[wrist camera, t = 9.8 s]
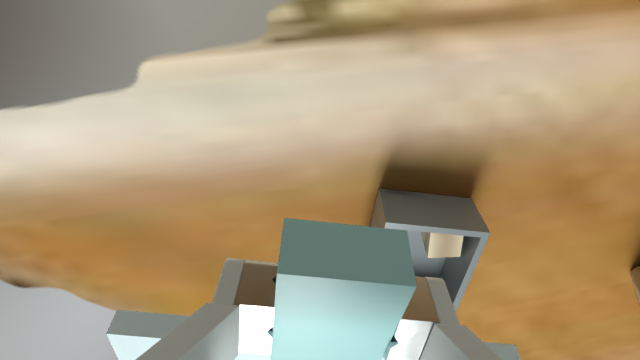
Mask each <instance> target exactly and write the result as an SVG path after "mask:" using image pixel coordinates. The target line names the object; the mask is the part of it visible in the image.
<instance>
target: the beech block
mask: <svg viewBox="0 0 640 360" xmlns="http://www.w3.org/2000/svg"><path fill="white" fill-rule="evenodd" d="M463 237H464V236H460V235H450V234H440V233H430V232H422V234H421V238H422V241H423V245H424V248H425V251H426V254H427V257H428V258H441V257H460V255H461V249H462V243H463Z"/></svg>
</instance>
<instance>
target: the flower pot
mask: <svg viewBox="0 0 640 360" xmlns="http://www.w3.org/2000/svg"><path fill="white" fill-rule="evenodd" d="M631 277H632V280H633V284H634V287H635V291H636V294H637V297H638V301H639V304H640V266H638V267H636V268H634V269H633V270H632V271H631Z"/></svg>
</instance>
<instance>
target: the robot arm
mask: <svg viewBox="0 0 640 360" xmlns="http://www.w3.org/2000/svg"><path fill="white" fill-rule="evenodd" d="M277 269H278V263H271V262H263V261H254V260H242V259H234V258H227V259H226V260H225V262H224V265H223V269H222V272H221V275H220V278H219V282H218V285H217V288H216V291H215V295H214V298H213V301H212V303H205V304H204V305H203V306H202V307H200V308H199V309H198V310H197V311H195V312H194V313H193V314H192V315H190V316H189V317H188V318H187V319H185V320H184V321H183V322H182V323H180V324H179V325H178V326H177V327H175V328H174V329H173V330H172V331H170V332H169V333H168V334H167V335H166V336H164V337H163V338H162V339H161V340H159V341H158V342H157V343H156V344H154V345H153V346H152V347H151V348H149V349H148V350H147V351H146V352H144V353H143V354H142V355H141V356H139V357H138V358H137V359H136V360H234V359H235V358H236V357H237V356H238V353H254V354H271V346H272V336H273V332H272V331H273V323H274V304H275V291H276V278H277ZM415 280H416V286H417V287H416V289H415V291H414V293H413V296H412V298H411V300H410V302H409V304H408V306H407V308H406V310H405V312H404V314H403V316H402V318H401V320H400V322H399V324H398V326H397V328H396V330H395V332H394V335H393V337H392V339H391V341H390V342H389V345H388V347H387V349H386V351H385V353H384V357H385V360H502V359H501V358H499V357H498V356H497V355H496V354H495V353H494V352H493V351H492V350H491V349H490V348H489V347H488V346H487V345H485V344H484V343H483V342H482V341H481V340H480V339H479V338H478V337H477V336H476V335H475V334H474V333H473V332H472V331H470V330H469V329H468V328H467V327H466V326H462V325H460V323H459V321H458V318H457V315H456V312H455V309H454V306H453V304H452V301H451V298H450V295H449V292H448V290H447V287H446V284H445V281H444V280H443V279H442V278H434V277H420V276H415Z"/></svg>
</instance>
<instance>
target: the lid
mask: <svg viewBox="0 0 640 360" xmlns="http://www.w3.org/2000/svg"><path fill="white" fill-rule="evenodd" d="M416 287H417V286H416V280H415V274H414V268H413V263H412V257H411V251H410V246H409V240H408V234H407V230H397V229H387V228H378V227H368V226H358V225H348V224H339V223H329V222H319V221H309V220H299V219H290V218H284V224H283V231H282V239H281V246H280V254H279V261H278V269H277V278H276V291H275V304H274V323H273V331H272V332H273V336H272V346H271V354H254V353H238V356H237V357H236V358H235V359H234V360H385V357H384V353H385V351H386V349H387V347H388V345H389V342H390V341H391V339H392V337H393V335H394V332H395V330H396V328H397V326H398V324H399V322H400V320H401V318H402V316H403V314H404V312H405V310H406V308H407V306H408V304H409V302H410V300H411V298H412V296H413V293H414V291H415V289H416ZM188 317H189V316H182V315H171V314H159V313H148V312H137V311H125V310H117V311H116V314H115V316H114V318H113V320H112V322H111V325H110V327H109V329H108V331H107V333H106V334H107V336H108V338H109V341H110V343H111V345H112V347H113V349H114V351H115V353H116V355H117V357H118V359H119V360H136V359H137V358H138V357H139V356H141V355H142V354H143V353H144V352H146V351H147V350H148V349H149V348H151V347H152V346H153V345H154V344H156V343H157V342H158V341H159V340H161V339H162V338H163V337H164V336H166V335H167V334H168V333H169V332H170V331H172V330H173V329H174V328H175V327H177V326H178V325H179V324H180V323H182V322H183V321H184V320H185V319H187V318H188ZM483 343H484V344H485V345H487V346H488V347H489V348H490V349H491V350H492V351H493V352H494V353H495V354H496V355H497V356H498V357H499V358H501V359H502V360H521V359H520V356H519V354H518V351H517V348H516V345H511V344H499V343H488V342H483Z"/></svg>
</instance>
